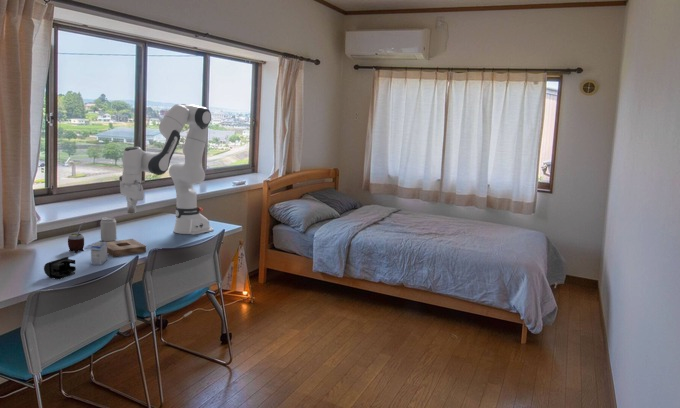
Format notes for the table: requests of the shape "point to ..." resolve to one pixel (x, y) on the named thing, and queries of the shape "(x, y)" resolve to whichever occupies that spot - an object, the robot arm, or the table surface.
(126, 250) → the block
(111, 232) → the can
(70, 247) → the mate gourd
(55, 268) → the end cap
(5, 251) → the table surface
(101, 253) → the medicine box
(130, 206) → the cylinder
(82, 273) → the table surface
